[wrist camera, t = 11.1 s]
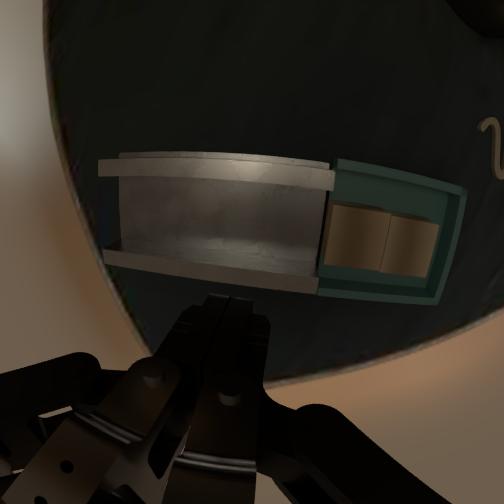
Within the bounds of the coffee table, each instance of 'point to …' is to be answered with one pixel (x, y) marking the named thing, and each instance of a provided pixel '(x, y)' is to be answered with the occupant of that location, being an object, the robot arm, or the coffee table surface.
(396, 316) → the coffee table surface
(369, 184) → the tray
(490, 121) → the decorative sign
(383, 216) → the beige square block
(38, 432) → the robot arm
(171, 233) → the slot rail
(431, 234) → the chip
